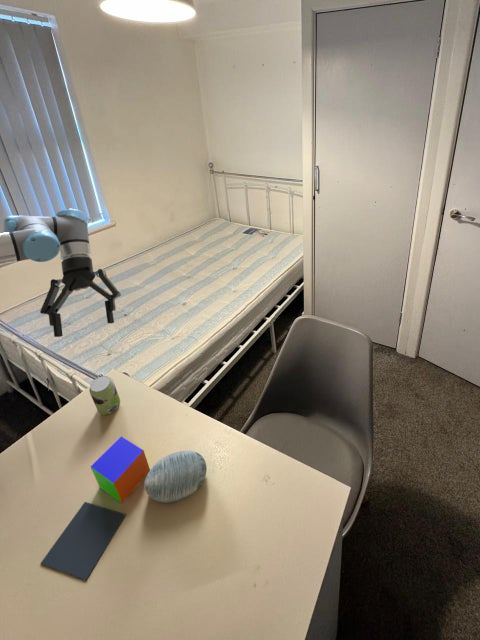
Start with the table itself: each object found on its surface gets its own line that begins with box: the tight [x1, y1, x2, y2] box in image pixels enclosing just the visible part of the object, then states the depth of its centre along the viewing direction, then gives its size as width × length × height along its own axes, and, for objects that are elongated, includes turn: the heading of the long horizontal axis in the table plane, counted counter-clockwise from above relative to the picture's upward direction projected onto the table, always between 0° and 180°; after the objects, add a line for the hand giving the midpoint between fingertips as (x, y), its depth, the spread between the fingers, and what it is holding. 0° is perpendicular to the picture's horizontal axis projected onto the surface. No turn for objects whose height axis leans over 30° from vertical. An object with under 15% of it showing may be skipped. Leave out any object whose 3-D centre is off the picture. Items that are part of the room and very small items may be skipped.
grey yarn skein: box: [144, 450, 208, 504], centre depth 76 cm, size 14×10×10 cm
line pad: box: [40, 501, 127, 581], centre depth 68 cm, size 11×11×1 cm
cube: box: [90, 436, 151, 504], centre depth 77 cm, size 8×8×8 cm
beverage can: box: [88, 375, 121, 416], centre depth 94 cm, size 6×7×12 cm
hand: (85, 329), depth 91 cm, fingers open, 13 cm apart
